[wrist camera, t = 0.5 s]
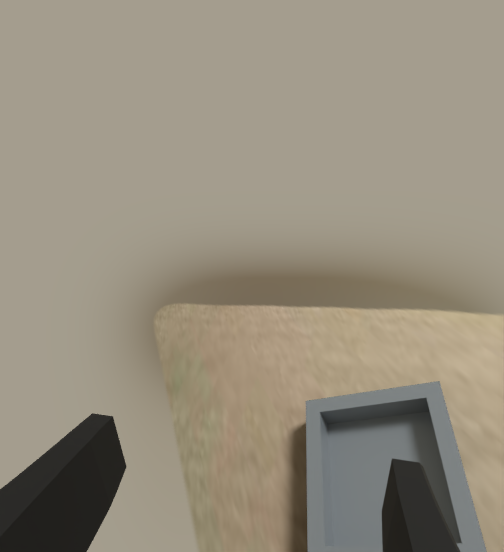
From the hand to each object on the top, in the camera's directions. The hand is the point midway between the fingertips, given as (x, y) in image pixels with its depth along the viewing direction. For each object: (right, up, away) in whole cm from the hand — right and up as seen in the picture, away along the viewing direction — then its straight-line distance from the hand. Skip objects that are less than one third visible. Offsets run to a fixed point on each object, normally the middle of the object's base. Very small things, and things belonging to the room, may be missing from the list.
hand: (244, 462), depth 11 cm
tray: (+9, -8, +15) cm, 19 cm away
